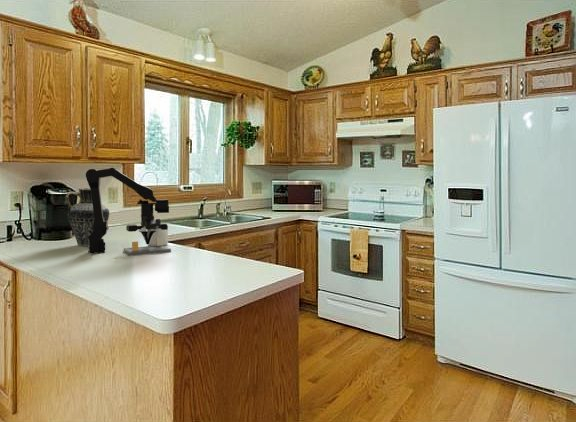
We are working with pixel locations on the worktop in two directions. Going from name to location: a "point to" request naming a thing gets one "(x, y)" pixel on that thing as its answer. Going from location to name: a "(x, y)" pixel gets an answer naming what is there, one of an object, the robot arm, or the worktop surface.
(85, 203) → the dark patterned vase
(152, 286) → the worktop surface
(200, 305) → the worktop surface
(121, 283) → the worktop surface
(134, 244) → the fader
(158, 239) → the fader
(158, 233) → the cup
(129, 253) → the grey rectangular panel
